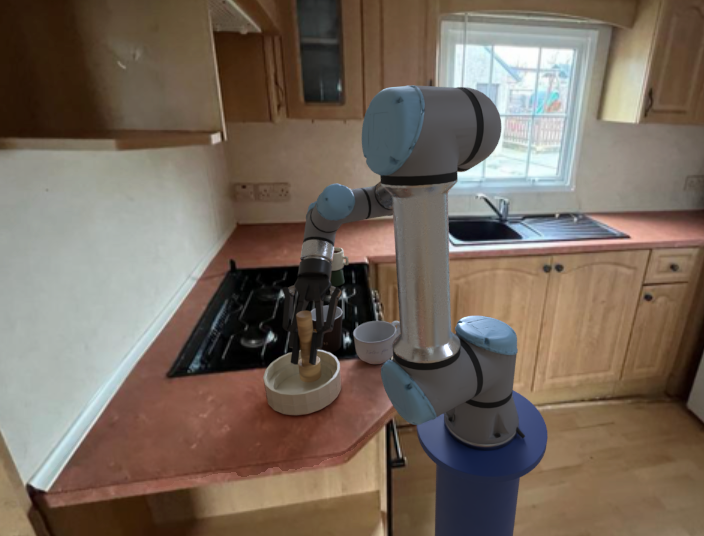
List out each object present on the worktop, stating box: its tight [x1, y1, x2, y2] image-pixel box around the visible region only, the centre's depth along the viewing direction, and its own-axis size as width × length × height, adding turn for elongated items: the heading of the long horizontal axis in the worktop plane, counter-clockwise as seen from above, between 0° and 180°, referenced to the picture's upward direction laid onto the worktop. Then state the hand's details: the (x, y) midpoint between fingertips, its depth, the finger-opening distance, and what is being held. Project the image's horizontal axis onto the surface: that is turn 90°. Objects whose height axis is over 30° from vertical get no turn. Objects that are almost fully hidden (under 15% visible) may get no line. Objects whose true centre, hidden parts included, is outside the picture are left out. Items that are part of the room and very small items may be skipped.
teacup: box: [352, 320, 401, 365], centre depth 104 cm, size 14×11×8 cm
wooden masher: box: [296, 310, 322, 383], centre depth 91 cm, size 5×5×16 cm
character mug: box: [330, 246, 349, 288], centre depth 144 cm, size 11×7×13 cm, turn 77°
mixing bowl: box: [262, 350, 342, 416], centre depth 91 cm, size 16×16×6 cm
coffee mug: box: [309, 305, 343, 354], centre depth 109 cm, size 12×9×10 cm
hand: (303, 363), depth 88 cm, fingers closed on wooden masher, 3 cm apart
